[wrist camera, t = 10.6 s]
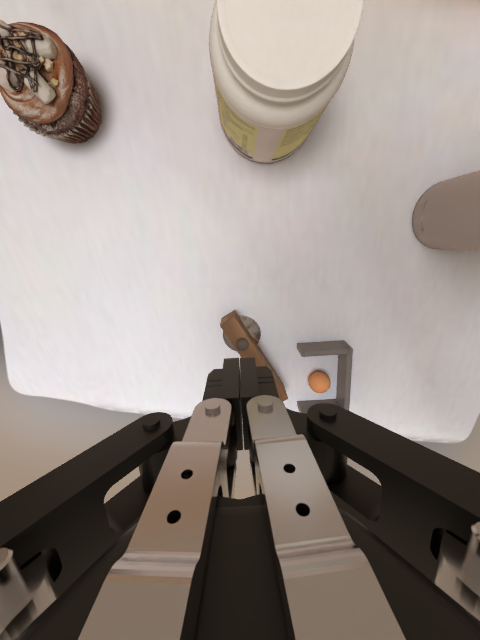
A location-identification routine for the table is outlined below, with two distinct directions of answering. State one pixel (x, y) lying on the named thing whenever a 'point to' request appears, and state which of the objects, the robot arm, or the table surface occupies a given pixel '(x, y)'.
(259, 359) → the lever
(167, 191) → the table surface
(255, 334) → the pin plate
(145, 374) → the table surface
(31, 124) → the cupcake
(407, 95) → the table surface
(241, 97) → the supplement tub
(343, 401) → the pocket
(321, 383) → the ball
